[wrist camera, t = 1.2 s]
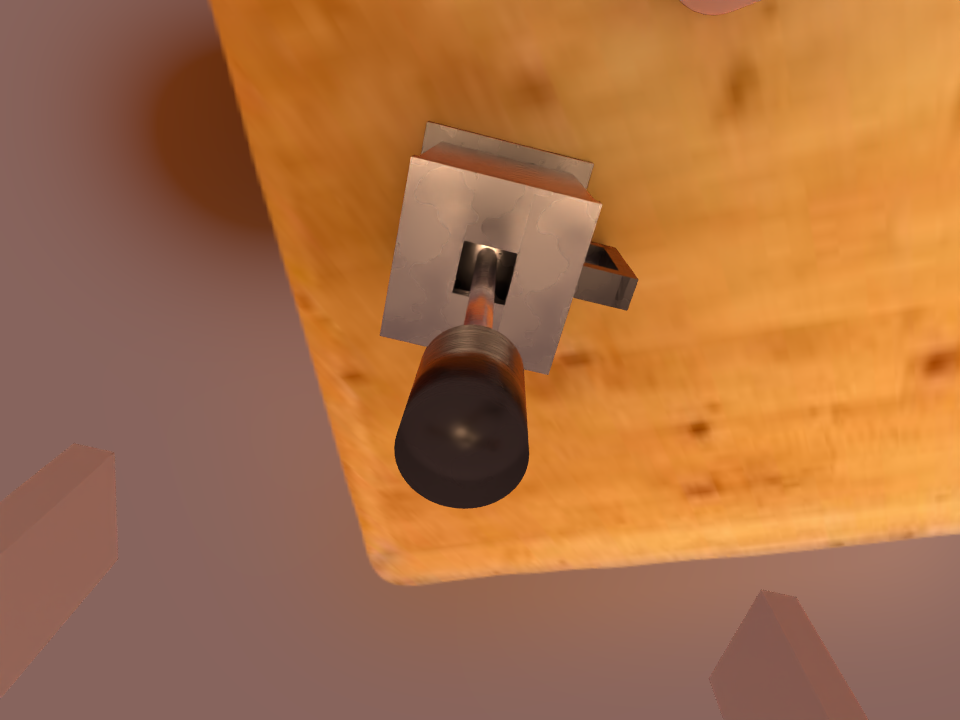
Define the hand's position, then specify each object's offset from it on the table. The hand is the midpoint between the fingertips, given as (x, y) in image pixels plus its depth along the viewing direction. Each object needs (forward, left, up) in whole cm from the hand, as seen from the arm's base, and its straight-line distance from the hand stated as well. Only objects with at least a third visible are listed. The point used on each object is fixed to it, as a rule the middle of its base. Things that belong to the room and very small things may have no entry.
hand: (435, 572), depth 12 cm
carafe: (-2, 0, -35) cm, 35 cm away
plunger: (0, 0, -26) cm, 26 cm away
